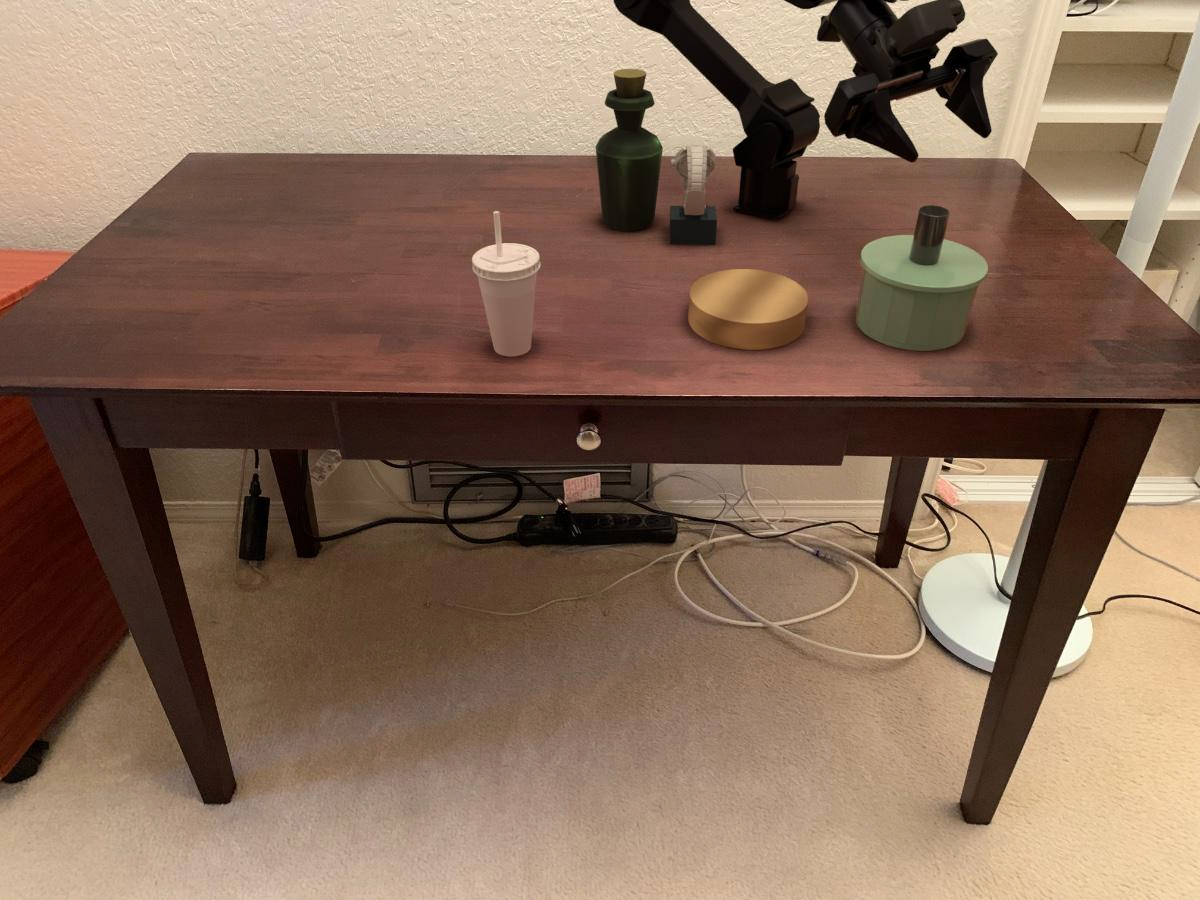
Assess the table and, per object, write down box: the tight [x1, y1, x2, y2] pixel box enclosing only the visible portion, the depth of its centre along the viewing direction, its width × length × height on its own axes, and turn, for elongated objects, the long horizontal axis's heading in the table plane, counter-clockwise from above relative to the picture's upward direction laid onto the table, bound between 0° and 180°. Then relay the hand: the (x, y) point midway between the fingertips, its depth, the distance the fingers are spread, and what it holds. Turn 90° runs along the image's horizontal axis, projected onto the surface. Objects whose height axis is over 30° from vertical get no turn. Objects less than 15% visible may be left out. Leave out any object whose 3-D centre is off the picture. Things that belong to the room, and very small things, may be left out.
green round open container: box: [855, 268, 979, 352], centre depth 91 cm, size 11×11×7 cm
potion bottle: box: [595, 68, 664, 232], centre depth 110 cm, size 8×8×18 cm
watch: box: [668, 143, 718, 246], centre depth 108 cm, size 6×8×11 cm
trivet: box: [687, 268, 809, 351], centre depth 93 cm, size 12×12×3 cm
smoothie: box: [471, 210, 542, 357], centre depth 86 cm, size 6×6×14 cm
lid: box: [859, 204, 989, 293], centre depth 88 cm, size 12×12×6 cm
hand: (952, 147), depth 93 cm, fingers open, 9 cm apart
